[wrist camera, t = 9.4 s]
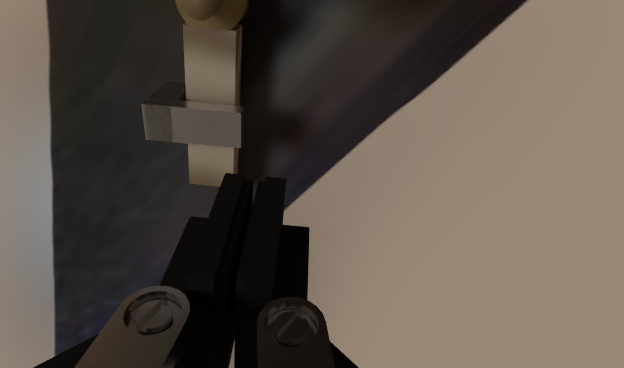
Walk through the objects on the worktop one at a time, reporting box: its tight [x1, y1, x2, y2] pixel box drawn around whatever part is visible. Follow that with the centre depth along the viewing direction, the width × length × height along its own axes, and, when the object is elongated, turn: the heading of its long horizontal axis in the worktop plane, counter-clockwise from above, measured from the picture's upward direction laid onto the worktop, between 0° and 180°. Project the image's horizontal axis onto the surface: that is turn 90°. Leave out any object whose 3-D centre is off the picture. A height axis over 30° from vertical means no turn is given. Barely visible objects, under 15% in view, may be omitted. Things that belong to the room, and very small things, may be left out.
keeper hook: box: [142, 82, 244, 148], centre depth 35 cm, size 3×8×6 cm, turn 85°
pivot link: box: [176, 0, 249, 187], centre depth 33 cm, size 18×5×6 cm, turn 173°
